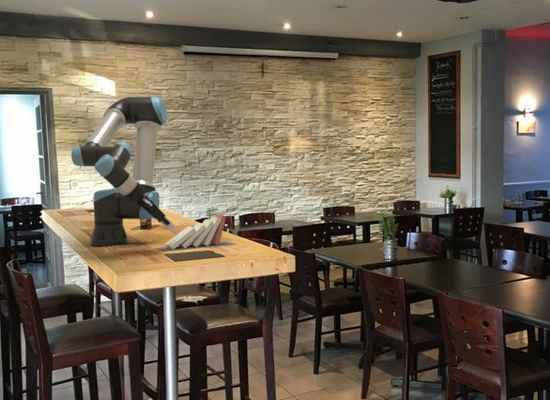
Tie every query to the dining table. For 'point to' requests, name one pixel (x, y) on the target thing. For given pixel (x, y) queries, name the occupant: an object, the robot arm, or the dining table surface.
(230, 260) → the dining table surface
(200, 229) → the domino
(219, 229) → the domino
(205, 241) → the domino
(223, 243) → the runner mat
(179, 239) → the domino
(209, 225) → the domino
